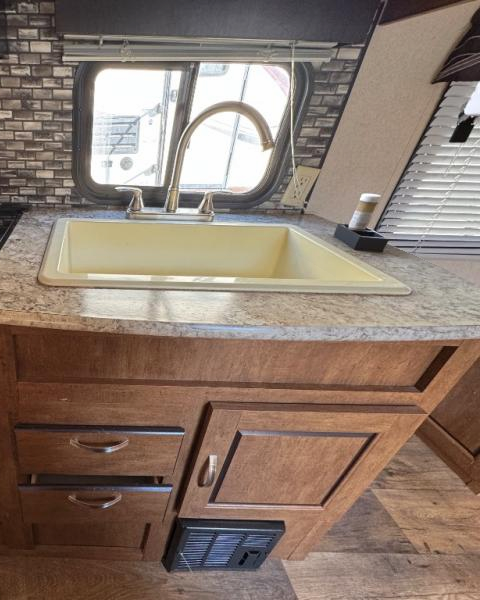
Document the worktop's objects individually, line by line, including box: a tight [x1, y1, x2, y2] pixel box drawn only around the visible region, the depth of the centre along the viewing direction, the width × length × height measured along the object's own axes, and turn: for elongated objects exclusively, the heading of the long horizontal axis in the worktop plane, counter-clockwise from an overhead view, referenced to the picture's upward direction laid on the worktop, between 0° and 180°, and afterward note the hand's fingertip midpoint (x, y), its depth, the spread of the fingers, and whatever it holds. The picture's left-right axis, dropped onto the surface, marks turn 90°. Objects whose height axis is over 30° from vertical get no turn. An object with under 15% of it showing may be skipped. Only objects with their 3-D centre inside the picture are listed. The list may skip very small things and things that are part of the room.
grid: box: [332, 222, 390, 253], centre depth 98 cm, size 7×14×4 cm, turn 165°
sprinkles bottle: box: [348, 193, 382, 231], centre depth 98 cm, size 5×5×13 cm
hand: (472, 143), depth 75 cm, fingers open, 9 cm apart
